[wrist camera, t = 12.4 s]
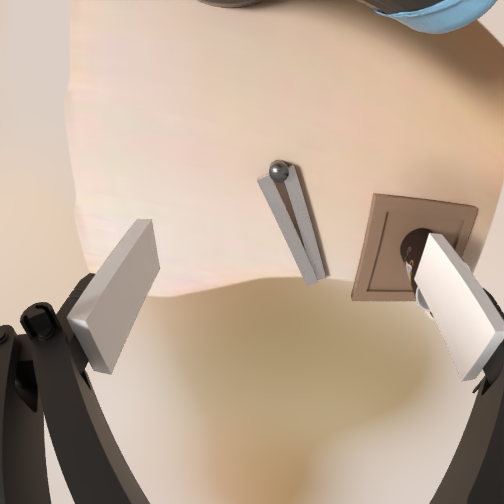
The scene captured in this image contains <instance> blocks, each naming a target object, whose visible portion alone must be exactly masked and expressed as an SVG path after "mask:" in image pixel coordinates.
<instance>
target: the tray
mask: <svg viewBox="0 0 504 504" xmlns="http://www.w3.org/2000/svg"><path fill="white" fill-rule="evenodd" d="M477 210H478V209H477V208H476V207H474V206H470V205H464V204H457V203H450V202H443V201H436V200H428V199H420V198H412V197H403V196H394V195H384V194H374V193H373V199H372V204H371V210H370V215H369V220H368V225H367V230H366V235H365V239H364V244H363V248H362V253H361V257H360V261H359V266H358V270H357V274H356V278H355V282H354V286H353V290H352V294H351V298H352V301H416V299H415V296H414V292H413V289H412V286H411V283H410V280H409V277H408V274H407V271H406V268H405V265H404V262H403V260H402V257H401V254H400V246H401V243H402V241H403V239H404V238H405V236H406V235H407V234H408V233H410V232H411V231H413V230H415V229H418V228H426V229H429V230H431V231H432V232H433V233H434V234H442V235H443V236H444V238H445V239H446V240H447V241H448V243H449V244H450V245H451V246H452V248H453V249H454V250H455V252H456V253H457V254H458V255H459V257H460V258H461V257H462V255H463V252H464V249H465V246H466V244H467V241H468V238H469V235H470V232H471V229H472V226H473V223H474V220H475V216H476V213H477Z"/></svg>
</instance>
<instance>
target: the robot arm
mask: <svg viewBox="0 0 504 504" xmlns="http://www.w3.org/2000/svg"><path fill="white" fill-rule="evenodd" d="M197 1H200V2H202V3H205V4H208V5H212V6H217V7H243V6H249V5H253V4H256V3H259V2H262V1H264V0H197ZM356 1H358V2H360V3H362V4H364V5H366V6H368V7H370V8H372V10H373V11H374V12H376V13H378V14H380V15H382V16H386V17H390V18H392V19H394V20H396V21H398V22H400V23H402V24H404V25H406V26H408V27H409V28H411V29H413V30H415V31H418V32H422V33H430V34H443V33H448V32H452V31H455V30H458V29H460V28H463V27H465V26H467V25H469V24H470V23H472V22H474V21H475V20H477V19H478V18H480V17H481V16H482V15H483V14H485V13H486V12H487V11H488V10H489V9H490V8H491V7H492V6H493V5H494V4H495V2H496V1H497V0H356ZM159 270H160V265H159V260H158V254H157V248H156V242H155V236H154V230H153V223H152V219H137V220H136V221H135V223H134V224H133V225H132V226H131V228H130V229H129V230H128V231H127V233H126V234H125V235H124V237H123V238H122V239H121V240H120V242H119V243H118V244H117V246H116V247H115V248H114V250H113V251H112V252H111V254H110V255H109V256H108V258H107V259H106V261H105V262H104V263H103V265H102V266H101V267H100V269H99V270H98V272H97V273H96V274H93V273H89V274H88V275H87V276H85V277H84V278H83V279H81V280H80V281H79V283H78V284H77V286H76V287H75V288H74V291H72V292H71V294H70V295H69V297H68V298H67V300H66V301H65V303H64V304H63V305H62V307H61V308H60V310H59V311H58V313H57V314H55V312H54V310H53V308H52V306H51V305H50V304H49V303H47V302H40V303H35V304H33V305H31V306H30V307H28V308H27V309H26V310H25V311H24V312H23V314H22V315H21V318H20V323H21V325H22V326H23V328H24V330H25V332H26V333H27V334H21V335H17V334H16V332H15V331H14V329H13V327H12V326H10V325H3V326H0V504H51V500H50V493H49V486H48V478H47V468H46V457H45V443H44V415H45V419H46V423H47V427H48V430H49V434H50V437H51V440H52V444H53V447H54V450H55V453H56V456H57V459H58V462H59V464H60V467H61V470H62V473H63V475H64V478H65V481H66V483H67V486H68V488H69V490H70V493H71V495H72V498H73V500H74V502H75V504H150V503H149V501H148V499H147V498H146V496H145V494H144V493H143V491H142V490H141V488H140V486H139V484H138V483H137V481H136V479H135V477H134V476H133V474H132V472H131V470H130V468H129V467H128V465H127V463H126V461H125V459H124V457H123V455H122V453H121V451H120V449H119V447H118V445H117V443H116V441H115V439H114V437H113V435H112V433H111V430H110V428H109V426H108V424H107V421H106V419H105V417H104V414H103V412H102V410H101V408H100V405H99V403H98V400H97V398H96V395H95V393H94V390H93V387H92V385H91V382H90V380H89V377H88V374H87V372H86V371H85V367H86V365H87V363H88V361H89V363H90V365H91V367H92V368H93V370H94V371H97V372H101V373H107V374H112V372H113V370H114V367H115V365H116V362H117V360H118V358H119V355H120V353H121V351H122V349H123V346H124V344H125V342H126V339H127V337H128V335H129V333H130V330H131V328H132V326H133V324H134V322H135V320H136V317H137V315H138V313H139V311H140V309H141V307H142V304H143V302H144V300H145V298H146V296H147V294H148V292H149V290H150V288H151V286H152V284H153V282H154V280H155V278H156V276H157V274H158V272H159ZM414 280H415V282H416V283H417V285H418V287H419V289H420V291H421V293H422V295H423V297H424V299H425V301H426V303H427V305H428V307H429V309H430V311H431V313H432V315H433V317H434V319H435V321H436V323H437V326H438V328H439V330H440V332H441V334H442V336H443V339H444V341H445V343H446V345H447V348H448V350H449V352H450V355H451V357H452V359H453V362H454V364H455V366H456V369H457V371H458V374H459V376H460V379H461V381H466V380H472V379H475V378H476V377H477V376H478V374H479V373H480V372H481V370H482V369H483V371H484V373H485V376H484V378H483V379H482V380H481V381H480V383H479V384H478V385H477V386H476V388H475V389H474V390H473V392H472V393H475V392H476V391H477V390H478V389H479V390H478V394H477V397H476V400H475V403H474V406H473V409H472V412H471V415H470V418H469V420H468V423H467V425H466V428H465V431H464V433H463V436H462V438H461V441H460V443H459V445H458V448H457V450H456V452H455V455H454V457H453V459H452V461H451V463H450V465H449V468H448V470H447V472H446V474H445V476H444V478H443V480H442V482H441V484H440V486H439V487H438V489H437V491H436V493H435V495H434V497H433V498H432V500H431V502H430V504H504V313H503V312H502V311H501V309H500V307H499V305H497V302H496V301H495V300H494V298H493V296H492V295H491V294H489V292H487V291H486V290H485V289H484V288H482V287H481V286H480V284H479V283H478V282H477V280H476V279H475V277H474V276H473V274H472V273H471V271H470V270H469V269H468V267H467V266H466V265H465V263H464V262H463V261H462V259H461V258H460V257H459V255H458V254H457V253H456V252H455V250H454V249H453V248H452V246H451V245H450V244H449V243H448V241H447V240H446V239H445V238H444V236H443V235H442V234H434V233H429V235H428V239H427V242H426V245H425V248H424V252H423V255H422V258H421V261H420V264H419V267H418V270H417V272H416V275H415V278H414Z"/></svg>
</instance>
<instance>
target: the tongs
mask: <svg viewBox="0 0 504 504" xmlns="http://www.w3.org/2000/svg"><path fill="white" fill-rule="evenodd" d="M274 181H275V182H283V181H284V182H285V185H286V189H287V192H288V195H289V198H290V201H291V204H292V207H293V210H294V214H295V217H296V220H297V223H298V227H299V230H300V233H301V236H302V240H303V243H304V246H305V248H304V246H303V244H302V242H301V239H300V237H299V235H298V233H297V230H296V228H295V226H294V224H293V221H292V219H291V217H290V215H289V212H288V210H287V208H286V206H285V204H284V202H283V199H282V197H281V195H280V193H279V191H278V189H277V186H276V184H275V182H274ZM257 182H258V184H259V186H260V188H261V190H262V192H263V194H264V196H265V198H266V200H267V202H268V204H269V206H270V208H271V210H272V212H273V215H274V217H275V219H276V221H277V223H278V225H279V227H280V229H281V231H282V233H283V235H284V238H285V240H286V242H287V244H288V246H289V248H290V250H291V252H292V255H293V257H294V259H295V261H296V263H297V265H298V268H299V270H300V272H301V274H302V276H303V278H304V280H305V283H306V285H307V286H308V285H311V284H314V283H317V282H318V279H322V278H326V276H325V272H324V268H323V264H322V260H321V257H320V253H319V249H318V245H317V242H316V238H315V234H314V231H313V227H312V224H311V220H310V217H309V213H308V210H307V206H306V203H305V199H304V196H303V193H302V189H301V186H300V183H299V179H298V176H297V173H296V170H295V167H294V165H291V166H288V165H287V164H286V163H285V162H284V161H282V160H276V161H274V162H272V163H271V165H270V168H269V174H266V175H264V176H262V177H259V178H257ZM305 250H306V251H305Z"/></svg>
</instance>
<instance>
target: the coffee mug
mask: <svg viewBox="0 0 504 504" xmlns="http://www.w3.org/2000/svg"><path fill="white" fill-rule="evenodd" d="M429 233H433V232H432V231H431V230H429V229H426V228H418V229H415V230H413V231H411V232H410V233H408V234H407V235H406V236H405V238H404V239H403V241H402V243H401V246H400V254H401V257H402V260H403V262H404V265H405V268H406V271H407V274H408V277H409V280H410V283H411V286H412V289H413V292H414V296H415V299H416V302H417V304H418V306H419V307H420V308H421V309H423V310H425V311H429V312H430V314H431V315H432V313H431V311H430V309H429V307H428V305H427V303H426V301H425V299H424V297H423V295H422V293H421V291H420V289H419V287H418V285H417V283H416V282H415V280H414V278H415V275H416V272H417V270H418V267H419V264H420V261H421V258H422V255H423V252H424V248H425V245H426V242H427V239H428V235H429ZM462 261H463V260H462ZM463 262H464V261H463ZM464 263H465V262H464ZM465 265H466V266H467V267H468V269H469V270H470V268H469V266H468V265H467V264H466V263H465ZM432 317H433V315H432ZM433 318H434V317H433Z"/></svg>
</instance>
